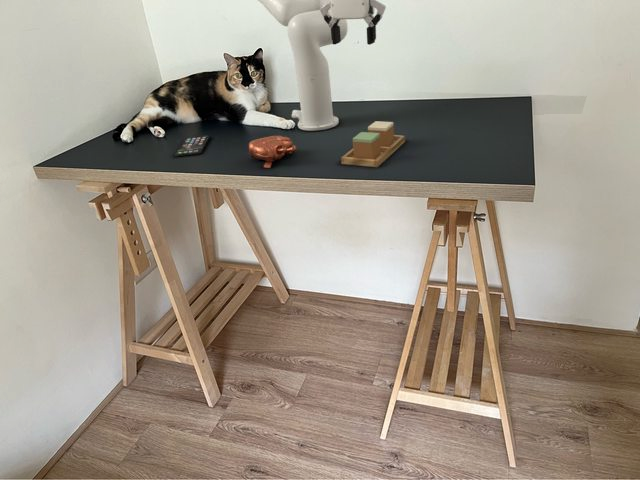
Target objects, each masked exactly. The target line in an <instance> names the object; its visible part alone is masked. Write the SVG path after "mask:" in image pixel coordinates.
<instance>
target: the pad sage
mask: <svg viewBox="0 0 640 480" xmlns="http://www.w3.org/2000/svg"><path fill="white" fill-rule="evenodd" d="M352 149H353V150H354V158H363V159H373V160H375V159H376V158H377V157H378V156H380V155H381V150H380V133H369V132H368V131H367V132H366V131H361V132H359V133H358V134H357V135H355V136H354V137H352Z"/></svg>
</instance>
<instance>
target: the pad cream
mask: <svg viewBox="0 0 640 480" xmlns="http://www.w3.org/2000/svg"><path fill="white" fill-rule="evenodd" d="M394 131H395V128H394V121H376V120H375V121H373V123H371V124H370V125H368V126H367V132H369V133H380V146H382V147H390V146H391V145H392V144H393V143H394V135H395V132H394Z"/></svg>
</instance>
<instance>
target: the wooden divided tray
mask: <svg viewBox="0 0 640 480" xmlns="http://www.w3.org/2000/svg"><path fill="white" fill-rule="evenodd" d="M404 143H406V135H400V134H399V135H397V134H394V143H393V144H392V145H391V146H390V147H382V146H380V150H381V155H380V156H378V157H377V158H376V159H375V160H373V159H363V158H354V150H353V148H351V149H350V150H349V151H347V152H346V153H345V154H344V155H342V156H341V157H340V161H341V165H349V166H351V165H352V166H359V167H360V166H361V167H370V168H379V167H380V165H383V163H384V162H385V161H386V160H387V159H388V158H390V156H392V155H393V154H394V153H395V152H396V151H397V150H398V149H399V148H400V147H401V146H402V145H403V144H404Z"/></svg>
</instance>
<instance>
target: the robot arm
mask: <svg viewBox="0 0 640 480" xmlns="http://www.w3.org/2000/svg"><path fill="white" fill-rule="evenodd" d="M258 2H260V4H262V6H263V7H264V8H265V9H266V10H267V11H268V13H270V14H271V16H272V17H273V18H274V19H275V20H276V21H277V22H278V23H279V24H280V25H281V26H284V27H286V28H287V29H286V30H287V31H286V32H287V37H288V41H289V43H290V47H291V50H292V51H291V52H292V54H293V59H294V66H295V74H296V80H297V86H298V87H297V88H298V90H297V91H298V98H299V105H300V110H299V109H293V110H292V112H291V118H292V119H298V122H297V128H298V129H300V130H302V131H307V132H317V131H324V130H329V129H332V128H334V127H336V126H337V125H339V124H340V123H339V122H340V121H339V118H338V117H337V116H335V115H334V112H333V110H334V109H333V101H332V100H333V99H332V89H331V77H330V69H329V67H330V66H329V61H328V59H327V57H326V56H325V55H324V53H323V51H322V50H321V48H323V47H326V46H330V45H337V44H339V43H341V42H342V41H343V40H345V38H346V36H347V35H348V31H349V27H348V21H347V20H363V21H364V22H365V23H366V24H367V27H366V44H367V45H372V44H375V43H376V40H377V25H378V24H379V22H380V21H381V20H382V19H383V16H384V13H385V11H386V5H385V4H383V3H382V2H379V1H378V0H258ZM375 9H376V14H375ZM374 14H375V15H374Z"/></svg>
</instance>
